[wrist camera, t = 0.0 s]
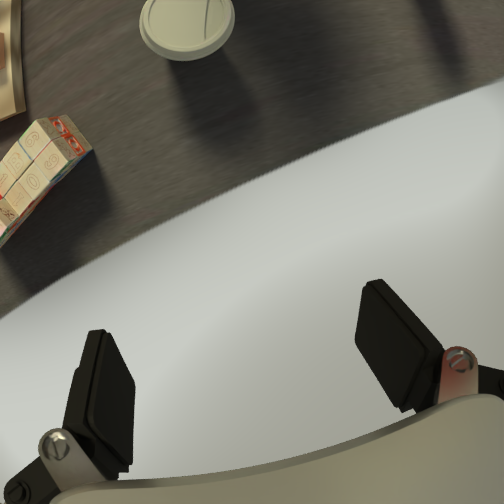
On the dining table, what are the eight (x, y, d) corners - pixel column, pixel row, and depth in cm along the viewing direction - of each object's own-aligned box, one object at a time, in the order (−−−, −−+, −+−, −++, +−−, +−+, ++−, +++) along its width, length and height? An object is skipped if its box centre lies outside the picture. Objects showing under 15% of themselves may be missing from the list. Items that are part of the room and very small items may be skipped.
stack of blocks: (67, 112, 31) (22, 121, 21) (94, 148, 34) (59, 170, 24) (-19, 215, 33) (-63, 253, 23) (5, 244, 37) (-34, 289, 26)
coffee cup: (194, 83, 33) (197, 76, 23) (137, 50, 30) (116, 29, 19) (236, 31, 31) (257, 5, 21) (180, -3, 27) (179, -41, 17)
